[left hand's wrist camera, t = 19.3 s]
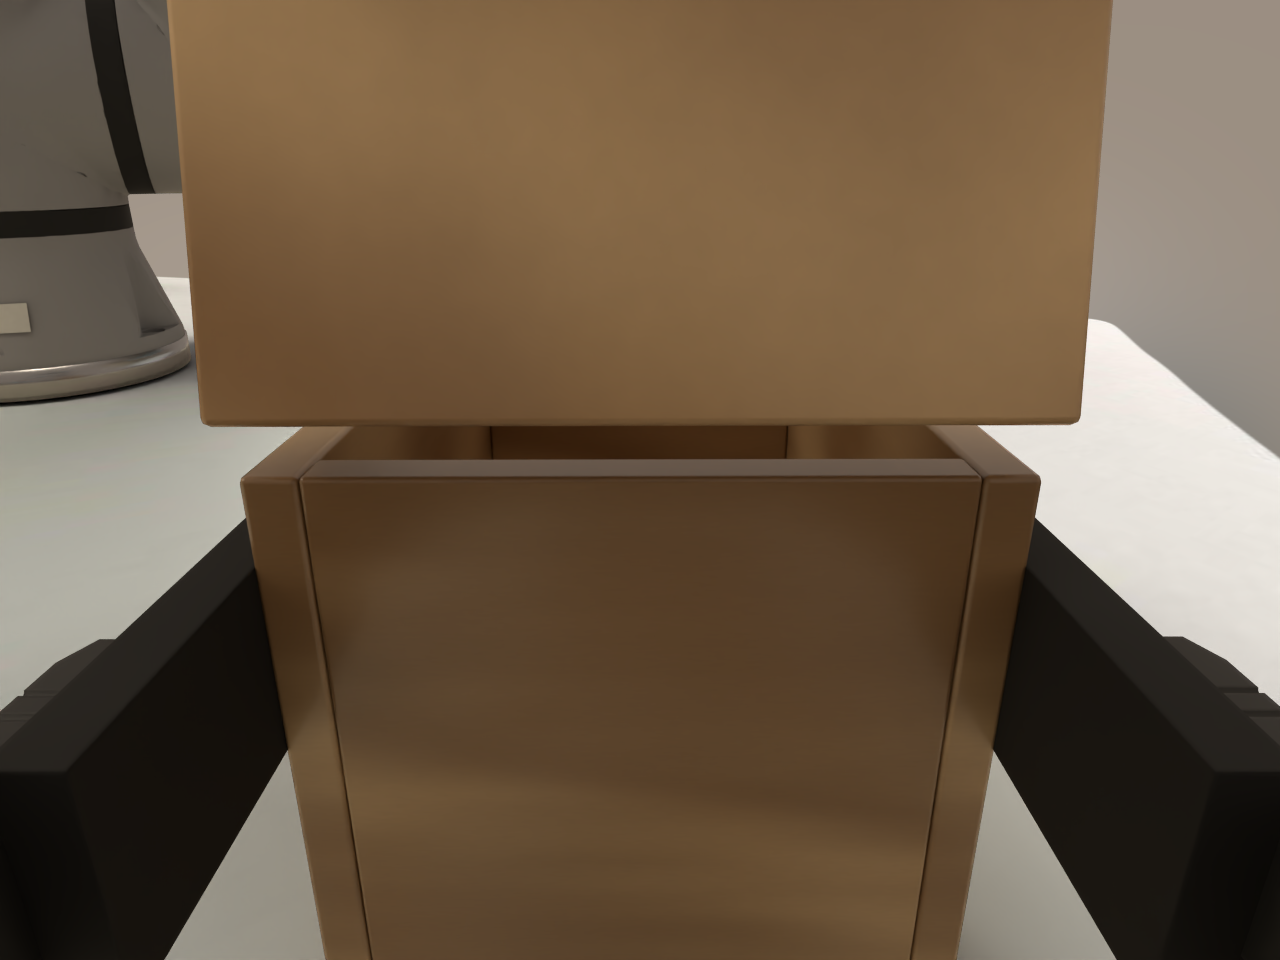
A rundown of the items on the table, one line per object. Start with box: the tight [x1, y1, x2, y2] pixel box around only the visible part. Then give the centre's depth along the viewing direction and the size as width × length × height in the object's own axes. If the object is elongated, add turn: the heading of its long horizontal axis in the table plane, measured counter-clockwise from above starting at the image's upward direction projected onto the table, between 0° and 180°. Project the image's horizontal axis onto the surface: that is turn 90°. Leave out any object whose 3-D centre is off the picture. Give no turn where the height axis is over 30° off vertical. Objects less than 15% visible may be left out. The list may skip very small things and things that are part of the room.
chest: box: [240, 425, 1041, 960], centre depth 18 cm, size 13×9×10 cm
